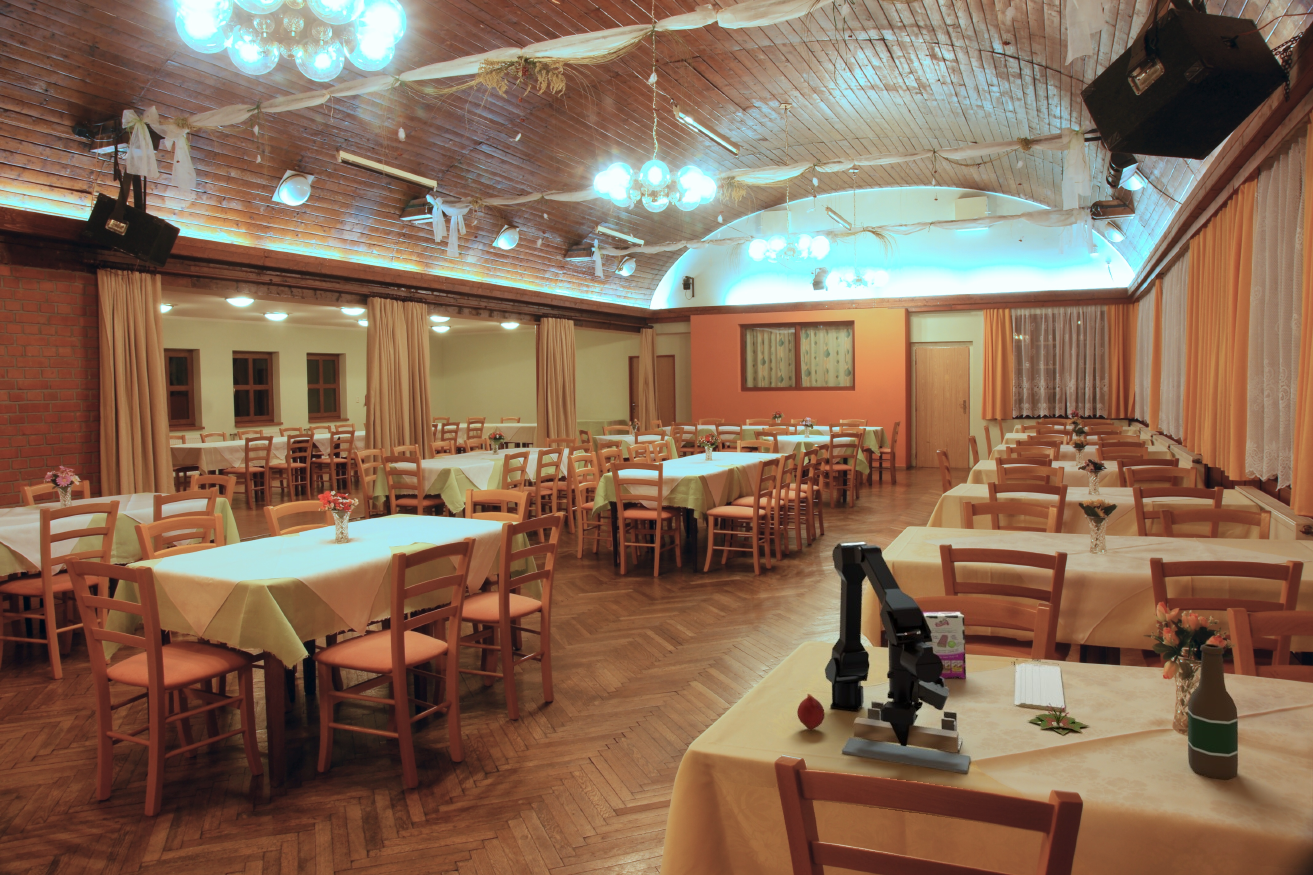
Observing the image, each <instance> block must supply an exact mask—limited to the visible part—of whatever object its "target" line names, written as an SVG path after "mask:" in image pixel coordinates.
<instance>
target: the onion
mask: <svg viewBox="0 0 1313 875" xmlns="http://www.w3.org/2000/svg"><path fill="white" fill-rule="evenodd" d="M796 713H797V717H798V720H799V721H800V723H801V724H802V725H803V726H805V727H806V729H808V730H810V731H812V730H814V729H816V728H818V727H820V725H822V724H823V721H824V719H825V709H824V707H823V704H821V702H820V701H819V700H818V699H816V698H815V697H814V696H813V695H812V694H811V693H807V696H806V698H804V699H803V700H802V701H800V703H799V705H798V707H797V712H796Z"/></svg>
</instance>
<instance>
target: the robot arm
mask: <svg viewBox="0 0 1313 875" xmlns="http://www.w3.org/2000/svg"><path fill="white" fill-rule="evenodd" d="M831 556H832V560H833V565H834V566H833V568H834V569H835V571H836V573H837V574H838V576H839V578H840V601H839V602H840V608H839V609H840V610H839V611H840V612H839V638H838V639H837V641H836V643H835V644H834V645H833V647H832V650H831V655H830V656H831V658H830V659H829V661H828V662H827V665H826V666H825V668H824V674H825V678H826V680H827V681H829V682H830V683H831V703H830V705H829V706H830V707H829V708H831V709H838V710H845V711H851V712H852V711H853V712H858V711H859V710H860V708H861V707H862V706H863V704H864V699H865V698H864V686H863V685H862V683H861V682H863V681H864V682H867V681H868V676H869V670H870V661H869V656H870V654H869V652H868V651H867V650H866V648H865V647H864V645H863V643H862V641H861V640H862V613H863V610H862V609H863V608H862V606H863V603H862V602H863V582H864V580H865V579H866V577H867V580H868V581H869V583H870V586H871V588H872V589H873V591H874V592H875V595H876V597H877V598H878V601H879V603H880V605H881V607H880V612H879V616H880V619H881V623H882V626H883V629H884V630H885V632H886V634H885V635H884V638H885V639H886V640H888V671H887V673H886V678H887V679H888V684H889V685H888V686H889V687H888V688H889V690H888V692H887V699H890V700H887V701H886V702H885V703H884V705H883V707H882V709H881V711H880V712H881V721H883V722H889V723H890V724H891V726H892V728H893V730H894V732H895V734H896V736H897V738H898V741H899V743H900V744H899V745H901V746H908V745H907V741H908V735H909V729H910V725H915V722H916V720H917V719H918V717H919V714H917V712H918V711H920V710H921V709H922V707H923V704H924V703H926V705H927V704H928V705H930V706H932V707H934V709H936V710H938V711H942V710H943V709H944V707H945V704H946V701H947V699H948V697H949V694H950V689H949V687H948V686H946V681H945V678H942V677H940V676H941V674H942V671H943V663H942V661H941V659H940V657H939V656H938V655H936V654H935V653H933V647H932V646H931V645H927V644H925V642H932V637H931V633H932V632H931V630H930V628H929V626H928V623H927V621H926V619H925V617H924V614H923V612H924V611H923V610H922V609H921V608H920V606H919V604H918V603H917V602H916V601H915V599H914V598H913V597H912V596H910V595H909V594H907V593H905V592H904V591H903V590H902V589H901V588H900V585H899V584H898V582H897V580H896V579H895V576H894V574H893V573H892V571H891V569H890V568H889V566H888V564H887V562H886V560H885V559H884V557H883V551H882V549H881V547H880V546H879V545H876V544H867V543H866V541H865V542H864V541H855V542H840V543H837V545H836V546H834V548H833V550H832V555H831ZM919 631H920V632H921V633H919V634H918V632H919ZM891 699H892V700H891ZM943 711H944V710H943Z"/></svg>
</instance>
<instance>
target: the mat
mask: <svg viewBox="0 0 1313 875" xmlns="http://www.w3.org/2000/svg"><path fill="white" fill-rule="evenodd" d="M841 753H842V754H844V755H851V756H857V757H863V758H868V759H876V760H882V761H888V762H893V763H900V764H906V765H913V766H918V767H925V768H932V769H938V770H944V771H949V772H955V773H962V774H968V772H969V766H970V761H971V755H969V754H968V755H967V754H961V753H956V752H949V751H943V750H936V749H929V748H923V747H920V748H919V747H916V746H910V745H906V746H901V745H900V744H897V743H890V742H884V741H877V740H870V739H864V738H857V737H849V738H848V739H847V741H846V743H845V745H844V746H843V748H842V749H841Z"/></svg>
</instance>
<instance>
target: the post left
mask: <svg viewBox="0 0 1313 875" xmlns="http://www.w3.org/2000/svg"><path fill="white" fill-rule="evenodd" d="M884 704H885V703H884V701H883V702H882V701H876V700H875V701H873V700H871V707H867V719H873V720H880V721H881V712H880V711H881V709H882V707H883V705H884Z"/></svg>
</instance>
